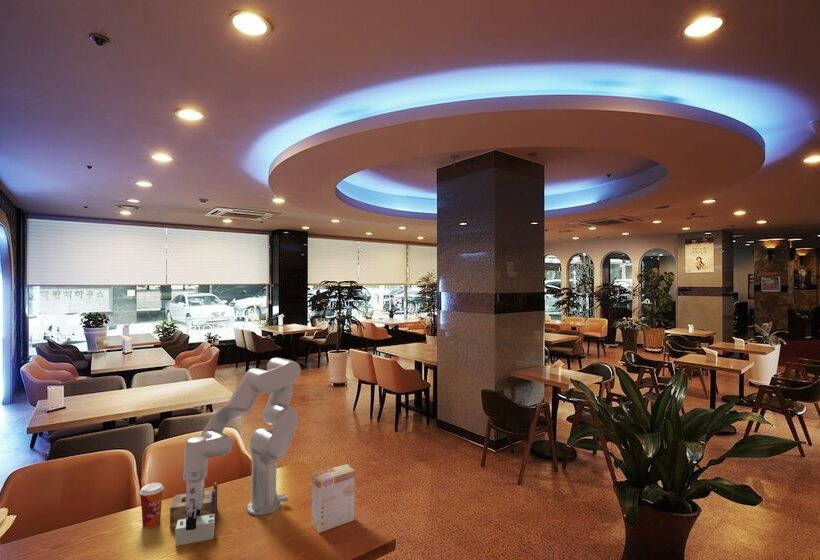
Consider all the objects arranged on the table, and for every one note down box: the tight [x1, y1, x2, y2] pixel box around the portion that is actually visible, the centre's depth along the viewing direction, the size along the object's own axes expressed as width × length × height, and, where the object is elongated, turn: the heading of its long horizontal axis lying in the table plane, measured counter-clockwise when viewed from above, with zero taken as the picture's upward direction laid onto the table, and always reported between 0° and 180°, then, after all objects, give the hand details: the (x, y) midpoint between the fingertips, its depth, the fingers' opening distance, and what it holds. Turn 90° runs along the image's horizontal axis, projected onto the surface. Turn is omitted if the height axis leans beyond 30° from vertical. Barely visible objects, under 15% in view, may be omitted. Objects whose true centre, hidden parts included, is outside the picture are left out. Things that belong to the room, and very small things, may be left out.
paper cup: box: [139, 482, 164, 529], centre depth 163 cm, size 8×8×14 cm
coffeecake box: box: [311, 463, 356, 534], centre depth 166 cm, size 15×7×20 cm, turn 126°
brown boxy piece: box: [169, 482, 218, 527], centre depth 169 cm, size 15×10×10 cm, turn 108°
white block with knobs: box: [175, 513, 216, 547], centre depth 155 cm, size 12×6×7 cm, turn 111°
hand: (193, 522), depth 155 cm, fingers open, 9 cm apart
